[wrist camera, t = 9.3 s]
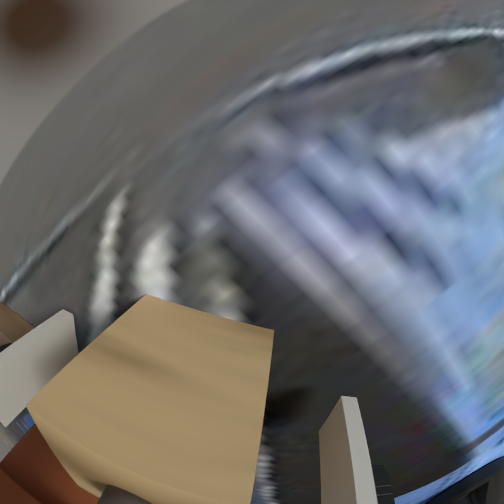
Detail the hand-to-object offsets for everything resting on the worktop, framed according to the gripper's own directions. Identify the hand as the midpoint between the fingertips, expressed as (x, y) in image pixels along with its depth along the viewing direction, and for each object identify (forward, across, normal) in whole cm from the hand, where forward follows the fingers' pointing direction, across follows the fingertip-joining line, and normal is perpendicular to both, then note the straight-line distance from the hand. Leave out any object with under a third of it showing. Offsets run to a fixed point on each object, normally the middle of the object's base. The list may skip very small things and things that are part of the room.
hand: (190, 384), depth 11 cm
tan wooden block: (+2, 0, +3) cm, 4 cm away
